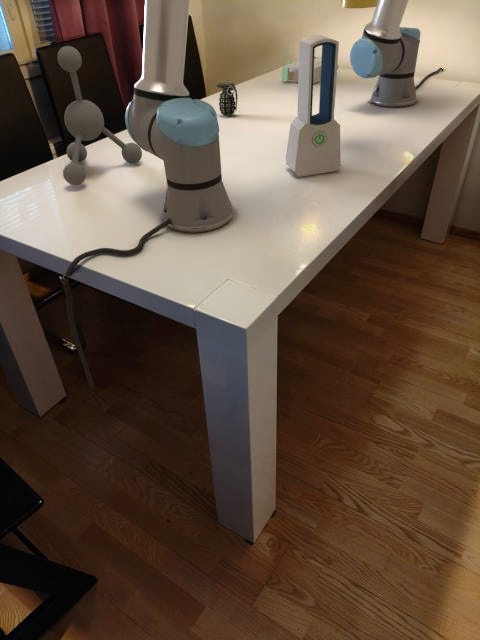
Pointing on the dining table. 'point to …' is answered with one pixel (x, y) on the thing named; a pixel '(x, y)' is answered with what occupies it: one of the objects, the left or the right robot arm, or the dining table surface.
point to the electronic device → (321, 129)
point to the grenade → (227, 99)
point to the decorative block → (292, 71)
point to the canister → (358, 3)
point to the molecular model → (85, 123)
